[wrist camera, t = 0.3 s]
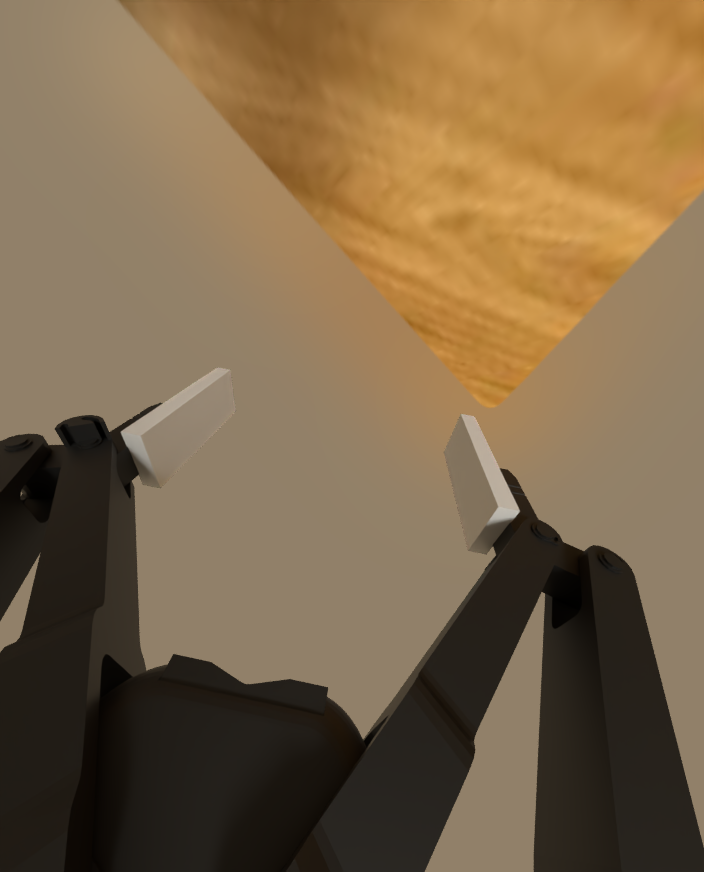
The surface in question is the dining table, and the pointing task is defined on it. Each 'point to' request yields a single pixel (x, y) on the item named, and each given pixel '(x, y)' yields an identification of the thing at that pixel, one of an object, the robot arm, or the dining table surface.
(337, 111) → the dining table surface
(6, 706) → the robot arm
